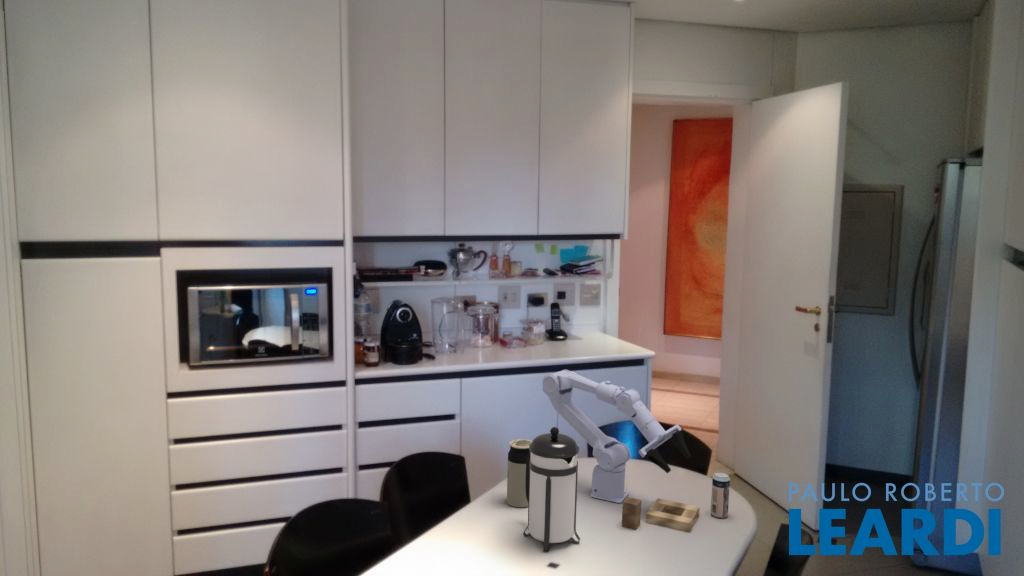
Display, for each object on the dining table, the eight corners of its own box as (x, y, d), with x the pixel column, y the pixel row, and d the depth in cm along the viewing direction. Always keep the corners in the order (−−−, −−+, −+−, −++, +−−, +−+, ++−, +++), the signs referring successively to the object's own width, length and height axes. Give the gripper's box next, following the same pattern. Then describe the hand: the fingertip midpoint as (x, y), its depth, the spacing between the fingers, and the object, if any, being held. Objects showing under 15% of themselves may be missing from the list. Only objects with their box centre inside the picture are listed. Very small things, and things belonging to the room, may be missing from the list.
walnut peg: (621, 526, 185) (622, 502, 184) (626, 521, 189) (627, 496, 188) (635, 530, 183) (637, 505, 183) (640, 524, 187) (641, 499, 186)
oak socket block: (645, 522, 188) (646, 513, 188) (657, 506, 199) (657, 498, 198) (689, 532, 183) (689, 523, 182) (699, 515, 193) (699, 507, 193)
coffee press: (586, 530, 182) (590, 421, 179) (572, 557, 167) (576, 439, 164) (525, 519, 188) (528, 414, 185) (506, 545, 173) (508, 430, 170)
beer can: (728, 519, 191) (731, 478, 190) (711, 518, 192) (713, 477, 190) (726, 512, 195) (729, 472, 194) (709, 511, 196) (711, 471, 195)
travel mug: (538, 500, 201) (539, 441, 199) (527, 510, 194) (528, 449, 192) (513, 495, 204) (515, 437, 203) (502, 504, 197) (503, 444, 195)
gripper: (632, 433, 190) (664, 473, 184) (670, 407, 195) (702, 446, 190) (626, 442, 196) (657, 481, 190) (663, 416, 201) (694, 454, 196)
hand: (679, 464), depth 190 cm, fingers open, 7 cm apart
